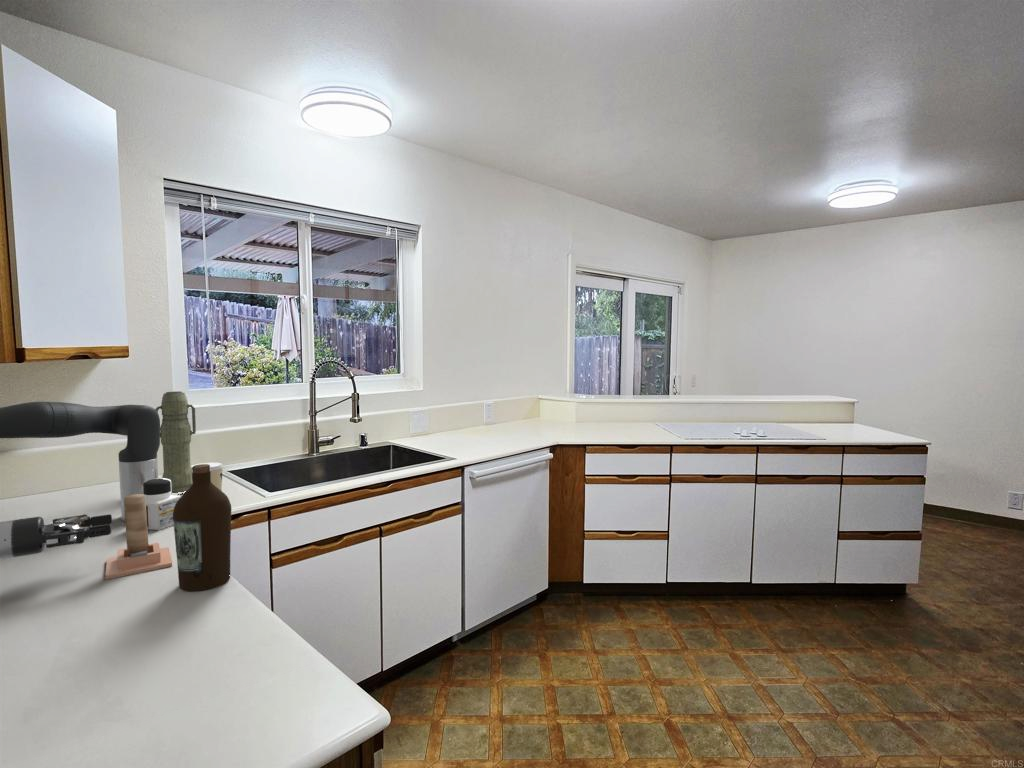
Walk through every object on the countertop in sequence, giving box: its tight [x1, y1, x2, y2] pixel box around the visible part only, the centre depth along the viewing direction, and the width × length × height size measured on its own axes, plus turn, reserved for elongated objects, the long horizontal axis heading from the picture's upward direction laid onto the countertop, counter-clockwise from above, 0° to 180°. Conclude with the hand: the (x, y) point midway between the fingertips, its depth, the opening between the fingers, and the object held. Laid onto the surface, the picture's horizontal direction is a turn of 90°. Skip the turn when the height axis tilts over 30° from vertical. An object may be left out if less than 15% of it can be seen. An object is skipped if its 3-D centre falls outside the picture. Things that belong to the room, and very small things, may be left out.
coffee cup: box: [190, 461, 224, 492], centre depth 171 cm, size 9×9×12 cm
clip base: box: [105, 541, 173, 580], centre depth 121 cm, size 12×12×4 cm
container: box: [143, 477, 181, 531], centre depth 148 cm, size 8×8×13 cm
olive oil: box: [172, 463, 232, 592], centre depth 111 cm, size 11×11×25 cm
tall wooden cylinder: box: [124, 494, 149, 557], centre depth 120 cm, size 4×4×15 cm
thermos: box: [154, 391, 197, 493], centre depth 182 cm, size 9×12×35 cm
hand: (111, 523), depth 117 cm, fingers open, 8 cm apart
